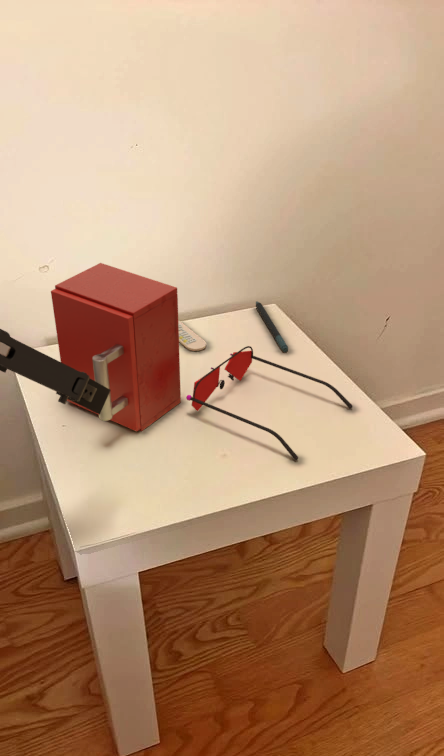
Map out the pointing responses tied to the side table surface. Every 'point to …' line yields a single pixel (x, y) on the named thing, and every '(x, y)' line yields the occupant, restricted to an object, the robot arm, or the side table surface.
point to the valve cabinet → (140, 330)
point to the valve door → (100, 352)
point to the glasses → (237, 369)
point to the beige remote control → (190, 338)
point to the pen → (272, 327)
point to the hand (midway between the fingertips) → (53, 380)
